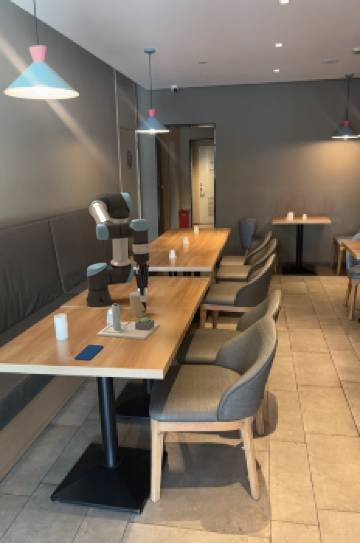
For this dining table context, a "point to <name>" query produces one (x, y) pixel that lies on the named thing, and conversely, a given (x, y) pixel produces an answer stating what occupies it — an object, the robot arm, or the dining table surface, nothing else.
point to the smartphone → (89, 352)
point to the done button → (144, 320)
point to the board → (130, 330)
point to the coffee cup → (137, 305)
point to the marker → (116, 316)
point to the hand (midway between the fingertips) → (143, 301)
